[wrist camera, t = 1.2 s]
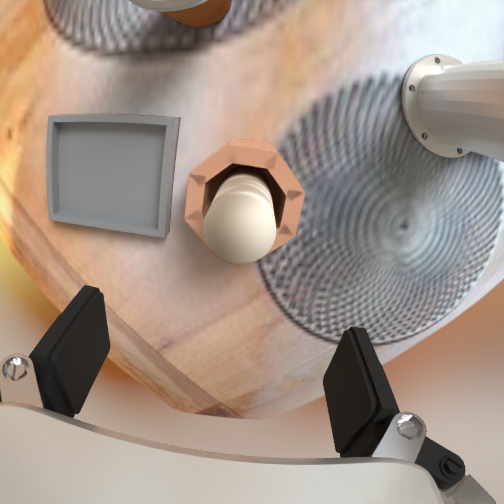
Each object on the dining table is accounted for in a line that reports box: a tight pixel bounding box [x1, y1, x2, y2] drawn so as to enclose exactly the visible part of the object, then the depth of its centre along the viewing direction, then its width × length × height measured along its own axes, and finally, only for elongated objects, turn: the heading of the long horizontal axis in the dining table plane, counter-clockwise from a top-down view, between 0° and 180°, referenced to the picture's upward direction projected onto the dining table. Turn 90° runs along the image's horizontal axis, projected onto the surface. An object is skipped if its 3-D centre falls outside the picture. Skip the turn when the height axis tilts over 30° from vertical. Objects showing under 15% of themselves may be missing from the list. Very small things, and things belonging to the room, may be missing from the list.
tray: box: [47, 114, 181, 238], centre depth 31 cm, size 16×13×2 cm
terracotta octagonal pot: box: [184, 138, 305, 260], centre depth 30 cm, size 10×10×7 cm
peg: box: [203, 165, 276, 264], centre depth 26 cm, size 5×5×12 cm
